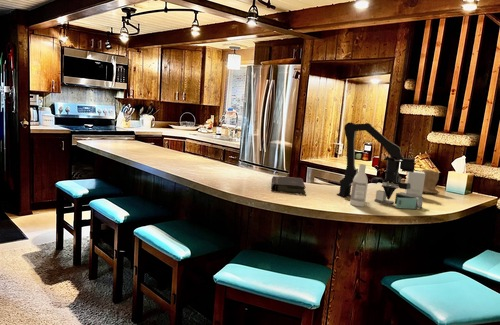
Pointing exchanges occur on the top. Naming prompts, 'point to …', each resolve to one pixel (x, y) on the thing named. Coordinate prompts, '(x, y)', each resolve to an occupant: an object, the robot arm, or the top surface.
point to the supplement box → (415, 183)
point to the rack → (406, 195)
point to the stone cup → (430, 181)
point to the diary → (288, 184)
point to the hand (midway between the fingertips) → (388, 199)
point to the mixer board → (384, 201)
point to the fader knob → (381, 195)
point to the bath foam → (359, 187)
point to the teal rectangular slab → (406, 203)
